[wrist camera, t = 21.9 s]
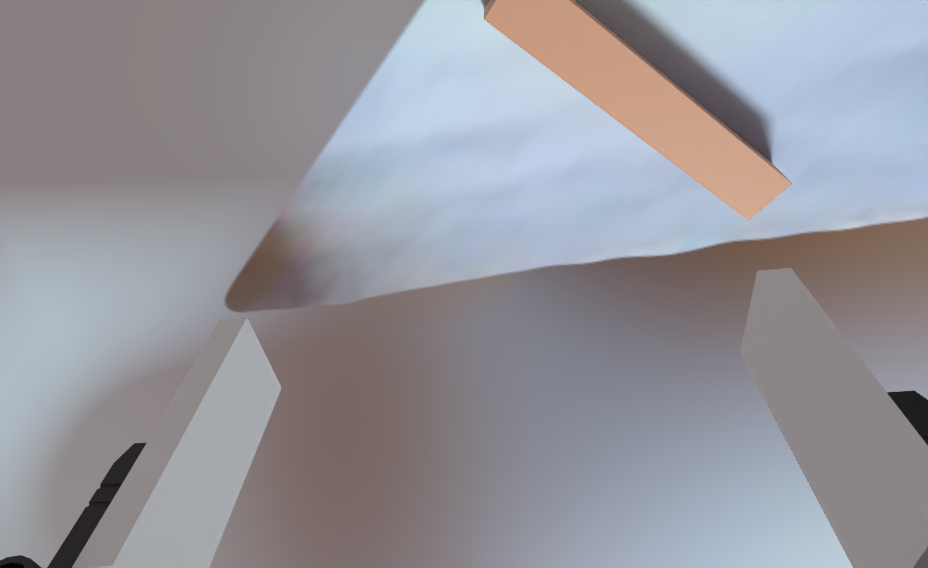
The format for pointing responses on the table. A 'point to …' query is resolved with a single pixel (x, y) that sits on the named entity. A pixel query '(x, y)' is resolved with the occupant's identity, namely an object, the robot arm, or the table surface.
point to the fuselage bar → (640, 98)
